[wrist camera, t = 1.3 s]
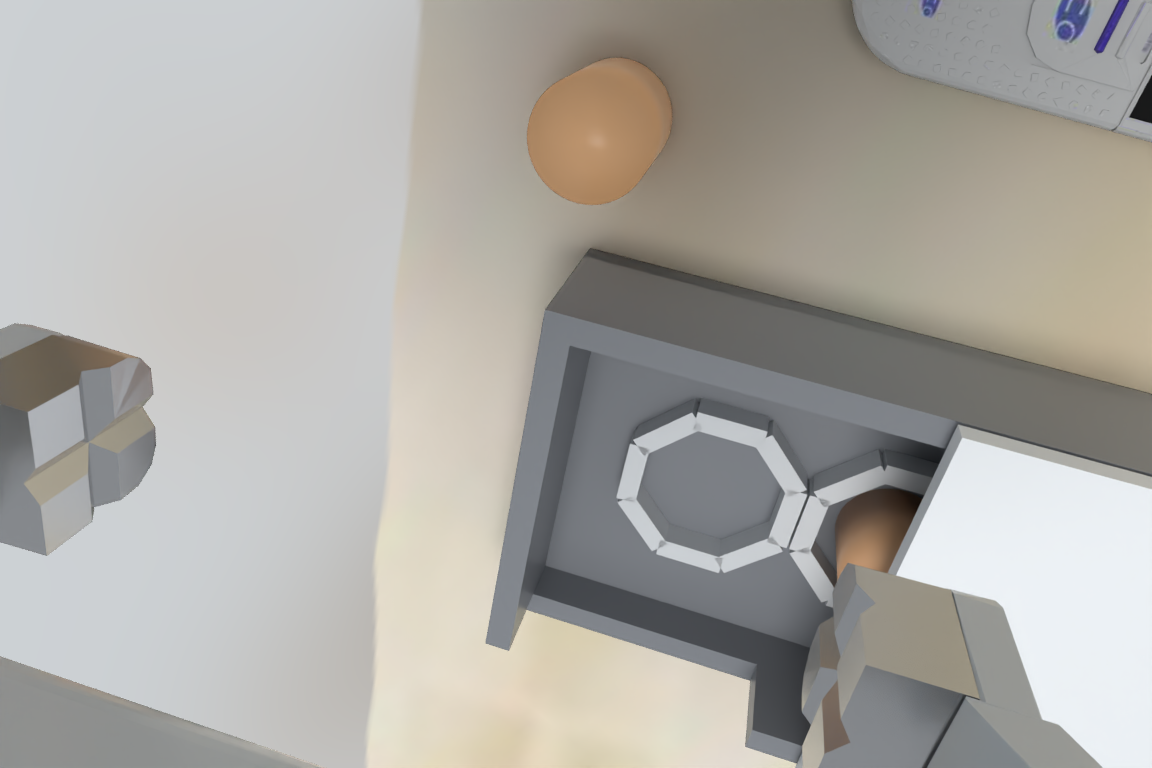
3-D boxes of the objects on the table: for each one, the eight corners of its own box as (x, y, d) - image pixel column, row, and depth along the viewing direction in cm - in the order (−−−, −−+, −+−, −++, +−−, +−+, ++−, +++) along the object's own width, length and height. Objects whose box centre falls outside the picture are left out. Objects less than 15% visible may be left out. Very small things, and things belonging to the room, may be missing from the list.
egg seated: (854, 476, 33) (860, 545, 29) (957, 505, 33) (977, 580, 29) (821, 554, 35) (823, 629, 31) (918, 582, 35) (932, 662, 31)
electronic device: (917, -183, 17) (1744, 12, 15) (892, -138, 26) (1422, -9, 24) (822, 84, 20) (1517, 279, 18) (828, 45, 28) (1300, 175, 26)
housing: (590, 248, 33) (545, 309, 27) (1306, 434, 30) (1424, 547, 24) (527, 562, 40) (482, 660, 35) (1089, 736, 37) (1139, 875, 32)
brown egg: (573, 46, 30) (537, 60, 26) (684, 71, 29) (665, 89, 25) (553, 159, 32) (518, 188, 28) (658, 184, 31) (636, 218, 27)
